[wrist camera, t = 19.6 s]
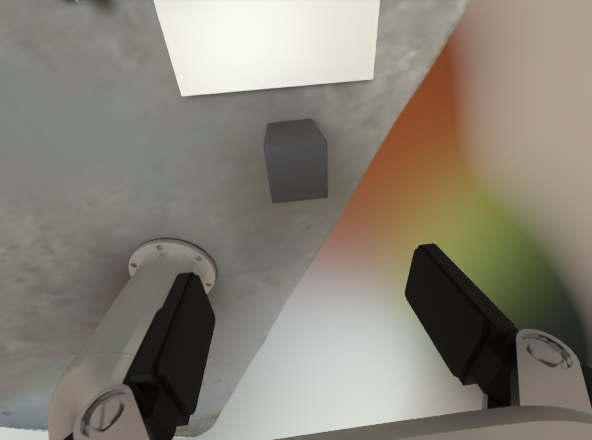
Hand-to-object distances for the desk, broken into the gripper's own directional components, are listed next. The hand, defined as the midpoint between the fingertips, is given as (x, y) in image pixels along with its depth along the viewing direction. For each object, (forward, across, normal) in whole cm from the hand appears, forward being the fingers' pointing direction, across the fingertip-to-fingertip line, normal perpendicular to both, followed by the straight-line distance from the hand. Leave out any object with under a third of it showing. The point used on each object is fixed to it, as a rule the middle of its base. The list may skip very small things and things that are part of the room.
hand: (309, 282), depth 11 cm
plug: (+22, -1, -1) cm, 22 cm away
